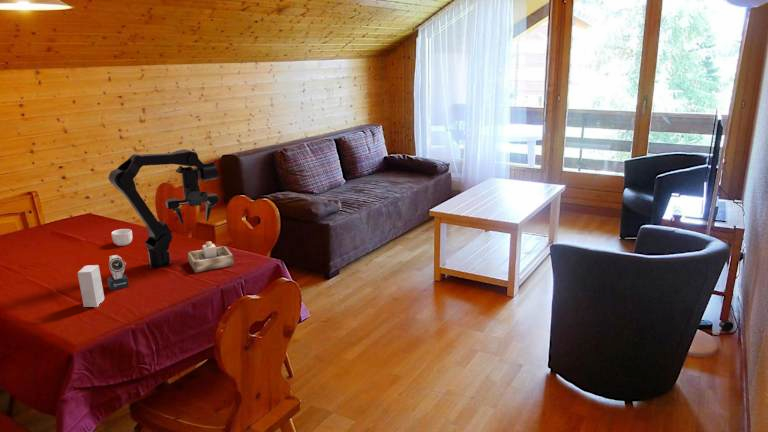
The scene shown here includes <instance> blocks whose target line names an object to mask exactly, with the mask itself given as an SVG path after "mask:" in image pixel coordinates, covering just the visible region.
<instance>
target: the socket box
mask: <svg viewBox="0 0 768 432" xmlns="http://www.w3.org/2000/svg"><path fill="white" fill-rule="evenodd" d="M216 252H217V256H216V257H211V258H205V259H204V254H203V249H200V250H192V251H188V252H187V258H188V260H187V261H188V263H189V265H190V268H191V269H192V270H193V272H194V273H200V272H206V271H211V270H217V269H222V268H227V267H228V268H229V267H233V266H235V262H234V254H233V253H232V252H231V251H230V250H229V248H228V247H227V246H226V245H223V246H216Z"/></svg>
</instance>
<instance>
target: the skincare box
mask: <svg viewBox="0 0 768 432" xmlns="http://www.w3.org/2000/svg"><path fill="white" fill-rule="evenodd" d="M77 277H78V278H77V279H78V282H79V283H78V284H79V288H80V294H81V299H82V304H83V305H82V306H83V308H84V307H94V308H99V306H100V305H101V304H102V303H103V301H104V300H105V294H104V288H103V283H102V277H101V271H100V266H99V264H93V265H91V264H90V265H84V266H83V267H82V268H81V269H80V270H79V271H78V272H77ZM100 303H101V304H100ZM99 304H100V305H99Z"/></svg>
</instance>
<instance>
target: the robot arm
mask: <svg viewBox="0 0 768 432" xmlns="http://www.w3.org/2000/svg"><path fill="white" fill-rule="evenodd" d="M215 163H216V162H214V161H208V162H204V163H203V162H202V161H201V160H200V158H199V155H198V153H197V152H196V151H194V150H190V149H187V148H186V149H185V148H184V149H179V150H175V151H172V152H169V153H149V154H147V153H146V154H145V153H144V154H137V153H135V154H134V153H133V154H132V155H131V156H130V157H128V159H127V160H125V161H124V162H122V163H121V164H119V166H118V167H117V168H116V169H112V170H111V172H110V173H109V175H108V181H109V183H110V184H112V186H114V188H115V189H117V190H118V191H119V192H120V193H121V194H122V195H123V196H124V197H125V198H126V199H127V201H128V203H130V205H131V206H132V208H133V209H134V211H135V212H136V213H137V215H138V216H139V217H140V219H141V221H142V222H143V223H144V224H145V226H146V230H147V234H148V235H149V236H148V237H147V238H146V240H145V242H144V245H145V248H146V249H147V251H148V252H147V253H148V260H149V262H148V264H149V266H150V269H156V268H162V267H167V266H168V267H169V266H170V263H171V258H170V257H171V256H170V250H169V248H170V243H171V242H172V240H173V234H172V233H173V231H172V230H170V228H169V225H168V224H167V223H165V222H164V221H161V220H158V219H157V218H156V216H155V215H154V214H153V212H152V211H151V210H150V208H149V206H148V204H147V203H146V202H145V201H144V199H143V197H142V196H141V194H139V192H138V190H137V187H136V183H135V180H134V179H135V178H136V176H137V175H138V174H139V172H140V170H141V168H142V167H144V166H146V167H147V166H160V165H161V166H162V165H163V166H164V165H178V168H176V169H175V173H178V174H181V178H182V180H181V181H182V187H183V189H182V190H183V196H184V197H183V199H178V197H174V198H173V197H172V198H167V199H166V200H165V206H166V208H167V209H168V210H171V211H172V212H173V211H174V212H175V213H176V214H177V216H178V219H179V221H180V223H181V225H184V219H183V215H182V209H181V208H180V206H183V205H189V207H191V208H194V207H197V206H199V207H200V206H201V207H202V206H203V205H204V203H205V220H206V222H208V221H209V218H210V216H211V211H212V208H214V206H216V205H217V204H219V203H220V197H219V195H217V194H216V193H208V192H207V191H201V190H200V181H202V182H204V181H211V180H217V179H218V178H219V170H218V167H217V166H216V164H215ZM193 167H194V168H193ZM199 180H200V181H199Z"/></svg>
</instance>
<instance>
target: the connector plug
mask: <svg viewBox="0 0 768 432" xmlns="http://www.w3.org/2000/svg"><path fill="white" fill-rule="evenodd" d="M216 247H217V246H216V245H215V243H212V241H210V240H209V241H206V242H205V244H203V245H202V250H203V254H204V259H205V258H211V257H216V256H217V252H216Z"/></svg>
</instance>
